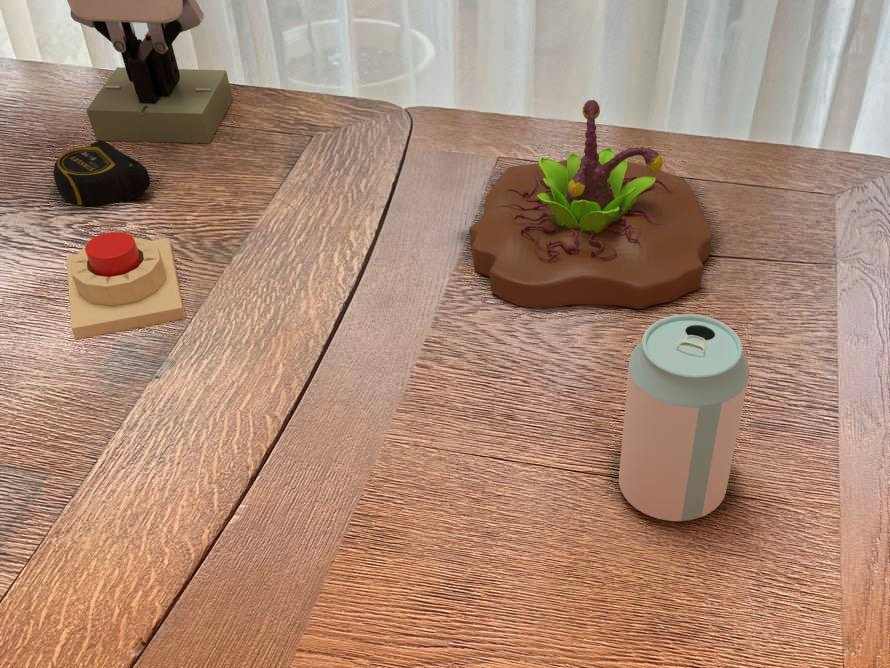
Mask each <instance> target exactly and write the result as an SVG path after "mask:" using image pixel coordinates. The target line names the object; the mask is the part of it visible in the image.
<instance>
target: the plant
mask: <svg viewBox="0 0 890 668" xmlns="http://www.w3.org/2000/svg"><path fill="white" fill-rule="evenodd" d="M600 106H601V105H600V104H599V102H598V101H597V100H595V99H588V100H587V101H586V102H584V103H583V107H582V115H583V117H584V119H586V131H585V132H584V136H585V137H584V138H585V141H584V146H585V147H584V149H583V153H584V155H583V156H582V157H580V156H579V155H578V154H576V153H574V152H571V153H569V154H568V156H567V159H564V160H560V161H556V160H554V159H550V158H546V157H539V159H538V163H528V164H521V165H510V166H509V167H508V168H507V170H505V171H504V172H503V173H502V174H501V175H499V178H498V179H497V181H496V183H495V185H493V186H492V187H491V189H490V190H488V193H487V195H486V199H485V205H484V211H483V215H482V217H481V218H480V220H478V222H476V223H474V224H473V225H471V226H469V245H470V249H472V262H473V269H474V270H475V272H477V273H479V274H481V275H484V276H486V277H489V287H490V292H491V293H492V294H494V295H495V296H498V297H499V298H501V299H502V300H504V301H507V302H509V303H511V304H515V305H517V306H521V307H525V308H531V309H532V308H533V309H535V308H536V309H537V308H538V309H539V308H540V309H543V308H544V309H545V308H556V307H564V306H571V305H572V306H573V305H597V306H598V305H600V306H621V307H626V308H632V309H637V310H639V309H640V310H641V309H646V308H649V307H651V306H654V305H660V304H666V303H669V302H673V301H675V300H676V299H679V298H680V297H681V296H684V295H685V294H688V293H690V292H691V293H692V292H694V291H698V290H700V288H701V286H702V279H703V272H704V271H703V270H704V264H703V263H704V262H706V261H707V260H708V259H709V257H710V255H711V249H712V241H713V234H712V231H711V228H710V226H709V224H708V223H707V219H706V218H705V215H704V214H703V211H702V208H701V206H700V203H699V201H698V198H697V196H696V194H695V191H694V190H693V188H692V187H691V186H690V184H689V183H688V181H687V180H686V179H685V178H683V177H681V176H678V175H674V174H673V173H669V172H666V171H663V170H661V169H662V167H663V158H662V156H661V154H660V153H659V152H657V151H656V150H653V149H652V148H650V147H646V148H645V147H643V146H640V147H636V146H635V147H628V148H627V149H625V150H622V151H620V152H619V153H618V154H616V153H615V151H614V149H613V148H612V147H606V148H603V149H602V150H599V151H598V142H597V141H598V140H597V139H598V137H597V125H596V119H597V118H598V117H599V116H600V113H601V107H600ZM635 156H641V157H643V159H644V163H645V164H640V163H636V162H629V161H628V160H627V159H628V158H631V157H635Z"/></svg>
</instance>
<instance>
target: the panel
mask: <svg viewBox="0 0 890 668" xmlns="http://www.w3.org/2000/svg"><path fill="white" fill-rule="evenodd" d="M178 69H179V74H180V80H179V82H178V83H177V85H176V87H175V88H174V90H173V91H172V93H171V94H170V96H163V95H161V97H160V98H159V100H158V101H157V102H156V103H140V102H139V99H138V95H137V94H136V91H135V87H134V84H133V82H130V80H129V78H128V75H127V71H126V68H125V67H122V66H121V67H119V66H117V67H116V68H115V69H114V71H113V72H112V74H111V75H110V76H109V78H108V79H107V81H106V82H105V83H104V84H103V86H102V87H101V89H100V90H99V92H98V93H97V94H96V96H95V97H94V99H93V100H92V101H91V103H90V104H89V105H88V107H87V108H86V109H85V110H86V114H87V117H88V121H89V123H90V125H91V128H92V132H93V135H94V137H95V140H96V141H99V140H102V141H109V142H110V141H114V142H115V141H116V142H144V143H145V142H146V143H177V144H179V143H180V144H181V143H182V144H210V143H211V141H212V140H213V138H214V136H215V134H216V132H217V131H218V128H219V127H220V124H221V122H222V121H223V119H224V117H225V115H226V114H227V112H228V109H229V108H230V106H231V104H232V102H233V101H234V99H233V95H232V89H231V86H230V80H229V77H228V71H227V70H225V69H223V70H222V69H192V68H191V69H189V68H188V69H187V68H178Z"/></svg>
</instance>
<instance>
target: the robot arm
mask: <svg viewBox="0 0 890 668" xmlns="http://www.w3.org/2000/svg"><path fill="white" fill-rule="evenodd" d="M66 1H67V4H68V7H69V9H70V17H71V19H72V20H73V21H74V22H76V23H79V24H81V25H84V26H87V27H89V28H91V29H95V30H96V31H97V32H98V33H99V34H101V35H102V36H103V37H104V38H106V40H108V41H109V42H110V43H111V44H112V47H113V49H114V50H115V51H116V52H118V53H120V54H121V58H122V61H123V64H124V68H126V71H127V75H128V78H129V80H130V82H133V78H132V75H131V71H130V68H129V65H128V59H129V58H130V56H131V55H132V54H133V52H134V51H135V50H136V49H137V47H138V46H139V45H140V43H141V42H142V41H143V39H142V38H138V36H136V35H137V33H136V31H135V28H134V24H133V23H135V24H139V23H140V24H147V27H148V31H149V32H150V36H151V39H152V43H153V45H152V46H153V49H154V51H153V52H152V54H151V61H152V65H153V69H154V72H155V76H156V79H157V83H158V87H159V90H160V94H161V95H163V96H170V94H171V93H172V91H173V90H174V88H175V87H176V85H177V83H178V82H179V80H180V74H179V69H180V68H179V66H178V62H177V58H176V54H175V51H174V47H173V43H174V41H176V39H177V37H178V36H179V35H180V34H181V33H183V32H186V31H189V30H192V29H194V28H196V27H198V26H199V25H201V23H202V22H203V20H204V18H205V14H204V12H203V11H202V9H201V7H200V6H199V4H198V2H197V0H66ZM133 84H134V82H133ZM134 87H135V85H134ZM135 91H136V88H135ZM136 94H137V92H136Z"/></svg>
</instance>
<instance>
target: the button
mask: <svg viewBox="0 0 890 668" xmlns="http://www.w3.org/2000/svg"><path fill="white" fill-rule="evenodd" d="M134 238H135V237H133V236H132V235H131V234H129V233H126V232H122V231H110V232H104V233H102V234H98V235H96V236H94V237H92V238H91V239H90V240H88V242H87V243H86V244H85V247H84V248H85V252H86V254H87V257H88V260H89V262H90V265H91V268H92V270H93V272H94V273H95V274H96V275H98V276H104V277H113V276H118V275H124V274H126V273H128V272H130V271H132V270H134V269H136V268H138V267H139V265H140V264H141V258H140V255H139V252H138V249H137V246H136V243H135V240H134Z"/></svg>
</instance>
